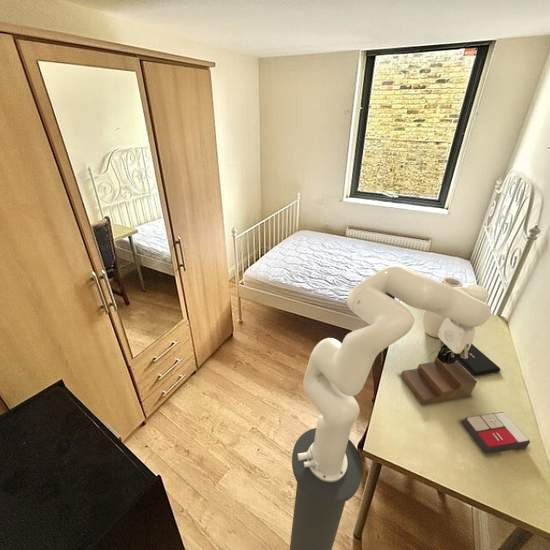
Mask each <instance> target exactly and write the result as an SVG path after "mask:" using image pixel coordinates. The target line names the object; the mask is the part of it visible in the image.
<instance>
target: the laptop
mask: <svg viewBox="0 0 550 550" xmlns="http://www.w3.org/2000/svg"><path fill="white" fill-rule="evenodd" d="M461 353H462V352H461ZM456 361H457V362H458V363H459V364H460V365H461V366H462V367H463V368H464V369H465V370H466V371H467V372H469V373H470V374H471V375H472V376H474V377H479V376H485V375H490V374H494V373H499V372H501V367H499V366H498V365H497V364H496V363H495V362H493V361H492V359H490V358H489V357H488V356H487V355H485V353H484V352H482V351H481V350H480V349H478V348H477V347H476V346H475V345H474V344H473V343H472V344H471V346H470V348H469V350H468V358H467V359H463V358H460V357H457V360H456Z"/></svg>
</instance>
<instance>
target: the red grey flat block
mask: <svg viewBox="0 0 550 550" xmlns="http://www.w3.org/2000/svg"><path fill="white" fill-rule="evenodd" d="M462 425H463V426H464V427H465V429H466V430H467V432H469V434H470V436H471V437H472V438H473V440H474V441H475V442H476V444H477V445H478V446H479V448H480V449H481V450H482V452H483V454H485V455H489V454H494V453H495V454H496V453H501V452H506V451H512V450H513V451H515V450H516V451H518V450H524V449H527V448H528V446H529V445H530V443H531V440H529V438H528V437H527V436H526V435H525V434H524V433H523V431H522V430H521V429H520V428H519V427H518V425H516V424H515V423H514V422H513V421H512V420H511V418H510V417H509V416H508V415H507V414H506V413H505V412H504V411H500V412H498V411H497V412H492V413H487V414H486V413H485V414H480V415H474V416H473V415H472V416H466V417H464V419H463V421H462Z"/></svg>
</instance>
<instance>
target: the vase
mask: <svg viewBox="0 0 550 550" xmlns="http://www.w3.org/2000/svg"><path fill="white" fill-rule="evenodd" d="M441 282H442V283H445V284H447V285H449V286H451V287H462V286H463V285H464V284H463V281H461V280H459V279H457V278H455V277H451V276H450V277H443V278H442V279H441ZM445 319H446V317H443V316H441V315H438V314H436V313H434V312H430V311H426V310H423V314H422V327H423V329H424V331H425V333H426V334H427V335H429V336H430V337H433V338H439V337H438V332H439V329H440V327H441V325H442V323H443V322H444V320H445Z"/></svg>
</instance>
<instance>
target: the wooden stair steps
mask: <svg viewBox="0 0 550 550" xmlns="http://www.w3.org/2000/svg"><path fill="white" fill-rule="evenodd" d="M400 378H402V380H403V381H404V382H405V384H406V386H407V387H408V389H409V390H410V391H411V392H412V394H413V395H414V396H415V398H416V399H417V401H418V402H419V403H420V405H421V406H424V405H429V404H430V405H431V404H436V403H441V402H446V401H451V400H456V399H461V398H467V397H470V396H471V395H472V393H473V391H474V390H475V387H476V385H477V384H478V381H477V380H476V379H475V378H474V377H473V375H472V374H471V373H470V372H469V371H468V370H467V369H466V368H465V367H464V366H463V365H462V364H461V363H460V362H459V361H458V360H456V361H455V363H453V364H446V363H442V362H441V361H440V360H439V359H438V358H437V356H436V357H435V358H434V360H433V361H429V362H424V363H423V362H422V363H419V364H418V366H417V368H411V369H405V370H402V371H401V374H400Z"/></svg>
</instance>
